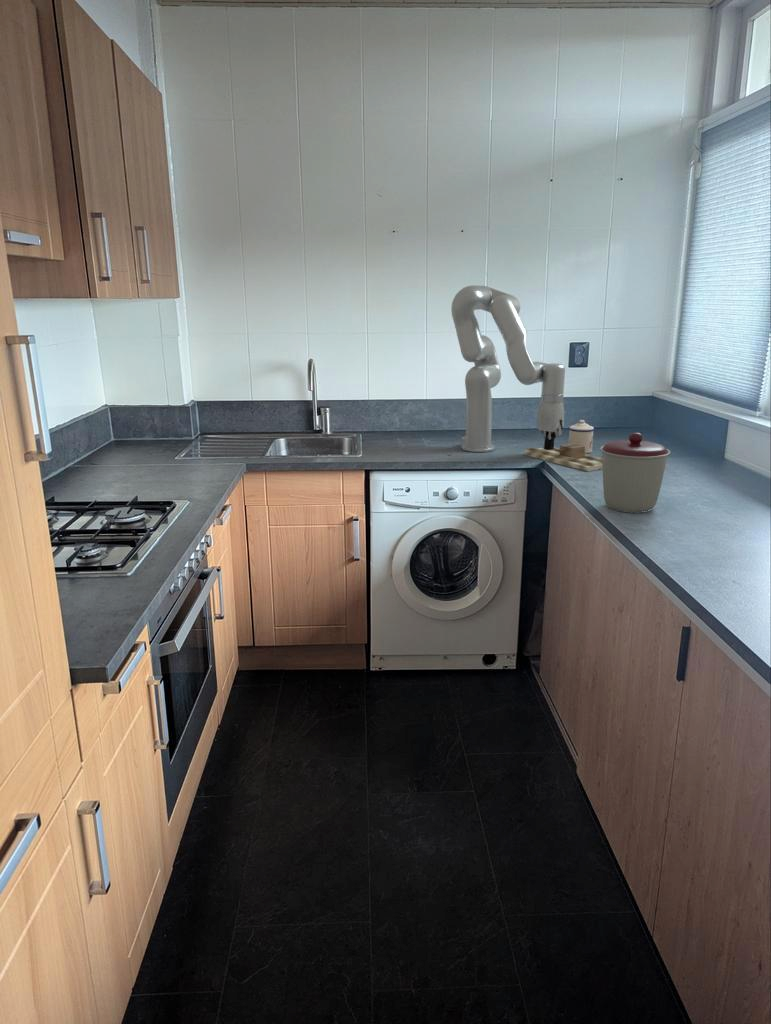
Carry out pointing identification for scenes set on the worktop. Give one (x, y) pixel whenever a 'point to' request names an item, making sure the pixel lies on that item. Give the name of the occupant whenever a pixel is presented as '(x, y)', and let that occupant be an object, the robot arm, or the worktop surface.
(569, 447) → the walnut slider
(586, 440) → the teacup with lid
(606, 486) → the canister
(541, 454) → the birch rail board
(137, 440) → the worktop surface
